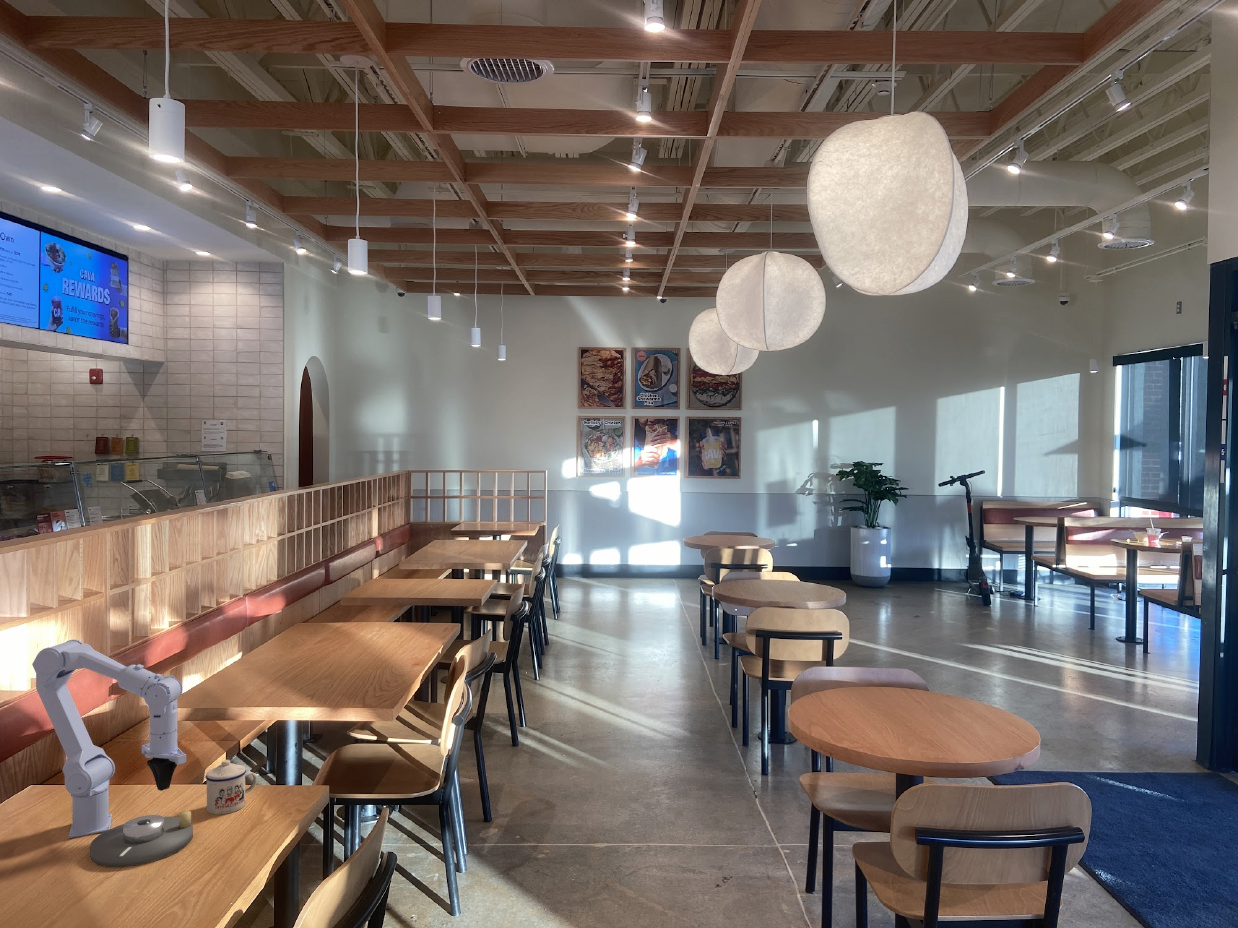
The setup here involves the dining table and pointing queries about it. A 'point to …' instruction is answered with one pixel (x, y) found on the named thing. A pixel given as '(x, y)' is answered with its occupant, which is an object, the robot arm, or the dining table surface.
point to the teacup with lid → (227, 788)
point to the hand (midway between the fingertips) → (163, 788)
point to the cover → (143, 829)
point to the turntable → (119, 854)
